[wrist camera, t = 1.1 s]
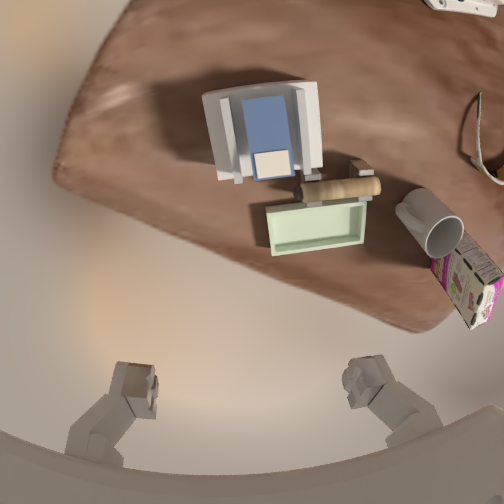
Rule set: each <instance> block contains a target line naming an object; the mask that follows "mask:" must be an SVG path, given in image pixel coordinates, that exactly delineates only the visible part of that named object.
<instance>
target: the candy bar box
mask: <svg viewBox="0 0 504 504" xmlns="http://www.w3.org/2000/svg"><path fill="white" fill-rule="evenodd" d="M430 270H431V271H432V272H433V274H434V275H435V277H436V278H437V280H438V281H439V282H440V284H441V285H442V287H443V288H444V290H445V291H446V293H447V294H448V296H449V297H450V299H451V300H452V302H453V304H454V305H455V307H456V308H457V310H458V311H459V313H460V315H461V316H462V318H463V319H464V321H465V323H466V324H467V326H468V328H469V330H472V329H474V328H475V327H477V326H480V325H482V324H483V323H486V322H487V321H488V320H489V319H490V316H491V314H492V311H493V308H494V306H495V303H496V300H497V297H498V295H499V292H500V289H501V286H502V283H503V280H504V274H503V273H502V271H501V270H500V269H499V268H498V267H497V265H496V264H495V263H494V262H493V261H492V260H491V258H490V257H489V256H488V255H487V254H486V253H485V252H484V251H483V250H482V248H480V246H479V245H478V244H477V243H476V242H475V241H474V240H473V239H472V238H471V237H470V236H469V235H468V234H467V233H466V232H465V231H464V232H463V236H462V239H461V241H460V243H459V244H458V246H457V247H456V248H455V249H454V250H453V251H452V252H451V253H450V254H448V255H447V256H445V257H442V258H435V259H434V258H431V269H430Z"/></svg>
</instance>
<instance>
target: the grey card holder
mask: <svg viewBox="0 0 504 504" xmlns="http://www.w3.org/2000/svg"><path fill="white" fill-rule="evenodd" d="M281 95H284V99H285V106H286V112H287V119H288V125H289V132H290V139H291V147H292V154H293V162H294V170H298V169H301V170H302V172H303V174H304V175H308V174H311V168H316V167H323V161H322V142H321V127H320V114H319V102H318V91H317V82H316V81H312V80H307V79H304V80H289V81H278V82H268V83H260V84H252V85H244V86H238V87H231V88H225V89H220V90H214V91H209V92H206V93H205V94H203V95H202V101H203V106H204V111H205V116H206V121H207V126H208V131H209V136H210V141H211V146H212V151H213V155H214V160H215V165H216V170H217V175H218V179H219V180H225V179H231V178H234V181H235V184H239V183H243V177H244V176H251V175H253V171H252V164H251V158H250V151H249V145H248V138H247V132H246V125H245V119H244V113H243V106H242V100H248V99H255V98H263V97H272V96H281Z"/></svg>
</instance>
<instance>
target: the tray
mask: <svg viewBox="0 0 504 504" xmlns="http://www.w3.org/2000/svg"><path fill="white" fill-rule="evenodd" d="M265 208H266V215H267V223H268V230H269V238H270V246H271V253H272V256H277V255H284V254H291V253H298V252H305V251H313V250H320V249H327V248H334V247H341V246H348V245H355V244H362V243H364V233H365V221H366V208H367V201H362V202H358V201H357V199H356V198H355V197H352V198H343V199H334V200H325V201H322V206H318V207H309V208H307V207H306V205H305V203H303V202H297V203H289V204H281V205H274V206H266V207H265Z"/></svg>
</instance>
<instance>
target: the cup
mask: <svg viewBox="0 0 504 504" xmlns="http://www.w3.org/2000/svg"><path fill="white" fill-rule="evenodd" d="M395 212H396V215H397V216H398V217H399V219H400V220H401V221H402V222H403V224H404V225H405V226H406V228H407V229H408V230H409V231H410V233H411V234H412V235H413V236H414V238H415V239H416V240H417V242H418V243H419V244H420V245H421V247H422V248H423V249H424V251H425V252H426V253H427V255H428V256H430V257H431V258H434V259H435V258H442V257H445V256H447V255H448V254H450V253H451V252H452V251H453V250H454V249H455V248H456V247H457V246H458V244H459V243H460V241H461V239H462V236H463V232H464V225H463V222H462V220H461V219H460V218H459V217H458V216H457V215H456V214H455V213H454V212H453V211H452V210H451V209H450V208H449V207H448V206H447V205H445V204H444V203H443V202H442V201H441V200H440V199H439V198H438V197H437V196H436V195H435V194H433V193H432V192H431V191H430V190H428V189H425V188H419V189H415V190H413V191H411V192H409V193H408V194H407V195H406V196H405V198H404V199H403V201H402V203H399V204H398V205H397V206H395Z"/></svg>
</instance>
